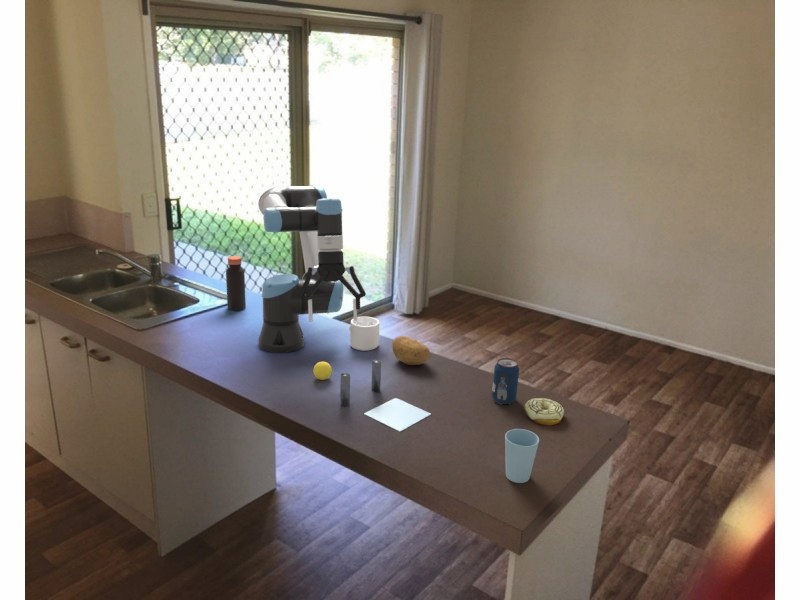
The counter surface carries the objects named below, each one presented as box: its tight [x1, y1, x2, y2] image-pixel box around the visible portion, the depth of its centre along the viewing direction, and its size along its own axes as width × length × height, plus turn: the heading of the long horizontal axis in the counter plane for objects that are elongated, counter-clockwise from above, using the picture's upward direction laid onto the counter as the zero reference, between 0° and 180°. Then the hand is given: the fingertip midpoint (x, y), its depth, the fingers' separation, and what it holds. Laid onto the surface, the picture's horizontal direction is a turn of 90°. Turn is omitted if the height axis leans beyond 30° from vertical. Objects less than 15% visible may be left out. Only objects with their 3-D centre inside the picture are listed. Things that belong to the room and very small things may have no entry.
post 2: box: [370, 359, 382, 393], centre depth 189 cm, size 3×3×9 cm
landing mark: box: [363, 397, 432, 433], centre depth 178 cm, size 13×13×1 cm
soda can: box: [491, 357, 520, 405], centre depth 186 cm, size 7×7×12 cm
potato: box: [391, 335, 431, 366], centre depth 208 cm, size 10×14×8 cm
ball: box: [312, 361, 333, 381], centre depth 195 cm, size 6×6×6 cm
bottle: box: [225, 255, 247, 312], centre depth 247 cm, size 7×7×20 cm
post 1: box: [339, 372, 351, 408], centre depth 180 cm, size 3×3×9 cm
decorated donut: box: [524, 397, 565, 426], centre depth 180 cm, size 10×11×4 cm
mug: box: [348, 316, 381, 352], centre depth 220 cm, size 12×10×9 cm
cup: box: [504, 428, 540, 484], centre depth 151 cm, size 8×8×10 cm
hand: (333, 320), depth 198 cm, fingers open, 13 cm apart
